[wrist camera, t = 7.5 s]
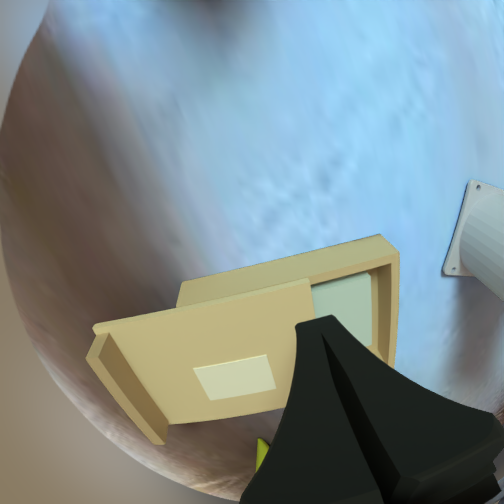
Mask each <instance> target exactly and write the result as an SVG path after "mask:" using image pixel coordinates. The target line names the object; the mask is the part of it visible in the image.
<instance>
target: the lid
mask: <svg viewBox="0 0 504 504" xmlns="http://www.w3.org/2000/svg"><path fill="white" fill-rule="evenodd" d="M312 319H316V318H315V311H314V305H313V298H312V292H311V286H310V281H309V279H308V278H304V279H300V280H296V281H292V282H288V283H284V284H280V285H275V286H271V287H267V288H263V289H259V290H254V291H250V292H246V293H242V294H237V295H233V296H229V297H224V298H220V299H215V300H211V301H206V302H202V303H197V304H192V305H188V306H183V307H178V308H174V309H169V310H164V311H159V312H154V313H149V314H145V315H140V316H135V317H129V318H124V319H119V320H114V321H109V322H103V323H98V324H95V325H94V327H93V330H94V332H95V334H96V335H97V336H96V338H95V340H94V342H93V344H92V346H91V348H90V350H89V352H88V354H87V356H86V360H87V362H88V363H89V364H90V366H91V367H92V369H93V370H94V372H95V373H96V374H97V376H98V377H99V379H100V380H101V381H102V383H103V384H104V385H105V387H106V388H107V389H108V391H109V392H110V393H111V394H112V396H113V397H114V398H115V400H116V401H117V402H118V403H119V405H120V406H121V407H122V408H123V410H124V411H125V412H126V413H127V414H128V416H129V417H130V418H131V419H132V420H133V421H134V423H135V424H136V425H137V426H138V427H139V428H140V430H141V431H142V432H143V433H144V434H145V435H146V436H147V437H148V438H149V440H150V441H151V442H152V443H153V444H154V445H162V444H166V437H167V429H168V424H180V423H190V422H199V421H208V420H215V419H223V418H229V417H236V416H242V415H248V414H254V413H259V412H264V411H270V410H275V409H279V408H284V407H286V404H287V400H288V396H289V392H290V388H291V383H292V378H293V373H294V367H295V358H296V331H295V325H296V324H297V323H300V322H304V321H308V320H312Z"/></svg>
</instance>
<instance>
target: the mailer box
mask: <svg viewBox="0 0 504 504" xmlns="http://www.w3.org/2000/svg"><path fill="white" fill-rule="evenodd" d="M304 278H308V279H309V281H310V286H311V292H312V298H313V305H314V311H315V318H320V317H323V316H327V315H331V314H332V315H334V316H335V317H336V318H337V319H338V320H339V321H340V323H341V324H342V325H343V326H344V327H345V328H346V329H347V330H348V331H349V332H350V333H351V334H352V335H353V336H354V337H355V338H356V339H357V340H358V341H360V342H361V343H362V344H363V345H364V346H365V347H366V348H368V349H369V350H370V351H371V352H372V353H373V354H375V355H376V356H377V357H378V358H380V359H381V360H382V361H384V362H385V363H386V364H387V365H389V366H390V367H392V368H393V369H394V364H395V354H396V342H397V329H398V312H399V279H400V254H399V251H398V250H397V249H396V248H395V247H394V246H392V245H391V244H390V243H389V242H388V241H387V240H386V239H385V238H384V237H383V236H382V235H381V234H377V235H373V236H369V237H366V238H362V239H358V240H354V241H350V242H346V243H342V244H338V245H334V246H330V247H326V248H322V249H318V250H314V251H309V252H305V253H301V254H297V255H293V256H289V257H285V258H281V259H277V260H273V261H269V262H264V263H260V264H256V265H252V266H248V267H244V268H239V269H235V270H231V271H227V272H223V273H218V274H214V275H210V276H206V277H202V278H197V279H193V280H189V281H184V282H182V284H181V288H180V292H179V296H178V300H177V304H176V308H178V307H183V306H188V305H192V304H197V303H202V302H206V301H211V300H215V299H220V298H224V297H229V296H233V295H237V294H242V293H246V292H250V291H254V290H259V289H263V288H267V287H271V286H275V285H280V284H284V283H288V282H292V281H296V280H300V279H304Z"/></svg>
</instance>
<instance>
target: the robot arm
mask: <svg viewBox="0 0 504 504" xmlns="http://www.w3.org/2000/svg"><path fill="white" fill-rule="evenodd" d="M477 185H478V187H477ZM476 187H477V189H476ZM452 268H453V269H452ZM443 272H444V273H445V274H446V275H455V276H473V277H476V278H478V279H479V280H480V281H481V282H482V283H483V284H484V285H486V286H487V287H488V288H489V289H490V290H491V291H492V292H493V293H494V294H495V295H497V296H498V297H499V298H500V299H501V300H502V301H503V302H504V190H502V189H499V188H497V187H494V186H491V185H488V184H486V183H483V182H480V181H477V180H474V179H471V180H470V181H469V182H468V185H467V189H466V193H465V198H464V201H463V205H462V209H461V213H460V216H459V220H458V223H457V227H456V230H455V233H454V236H453V240H452V243H451V246H450V249H449V252H448V255H447V258H446V261H445V264H444V266H443ZM295 331H296V358H295V367H294V373H293V378H292V383H291V388H290V392H289V396H288V400H287V404H286V407H285V410H284V413H283V416H282V419H281V421H280V424H279V427H278V429H277V432H276V434H275V437H274V439H273V441H272V443H271V445H270V447H269V449H268V451H267V453H266V455H265V457H264V459H263V461H262V463H261V465H260V467H259V468H258V470H257V472H256V473H255V475H254V477H253V478H252V480H251V481H250V483H249V484H248V486H247V487H246V489H245V490H244V492H243V494H242V495H241V498H240V502H239V504H495V503H496V502H498V501H499V500H500V501H499V502H498V504H504V478H502V479H501V480H499V481H498V482H497V480H496V478H495V476H494V474H493V473H494V472H495V471H496V467H495V465H494V463H493V460H494V459H495V458H496V457H497V456H498V454H499V453H500V452H501V451H502V449H503V448H504V428H503V426H502V425H501V423H500V422H499V421H498V420H497V419H496V417H495V416H494V415H493V413H489V412H486V411H482V410H478V409H475V408H471V407H468V406H465V405H462V404H460V403H457V402H454V401H452V400H449V399H447V398H445V397H443V396H441V395H438V394H436V393H434V392H432V391H430V390H428V389H426V388H424V387H422V386H420V385H419V384H417V383H415V382H413V381H412V380H410V379H408V378H407V377H405V376H404V375H402V374H400V373H399V372H397V371H396V370H394V369H393V368H392V367H390V366H389V365H387V364H386V363H385V362H384V361H382V360H381V359H380V358H378V357H377V356H376V355H375V354H373V353H372V352H371V351H370V350H369V349H368V348H366V347H365V346H364V345H363V344H362V343H361V342H360V341H358V340H357V339H356V338H355V337H354V336H353V335H352V334H351V333H350V332H349V331H348V330H347V329H346V328H345V327H344V326H343V325H342V324H341V323H340V321H339V320H338V319H337V318H336V317H335V316H334V315H332V314H331V315H327V316H323V317H320V318H316V319H312V320H308V321H304V322H300V323H297V324H296V325H295Z"/></svg>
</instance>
